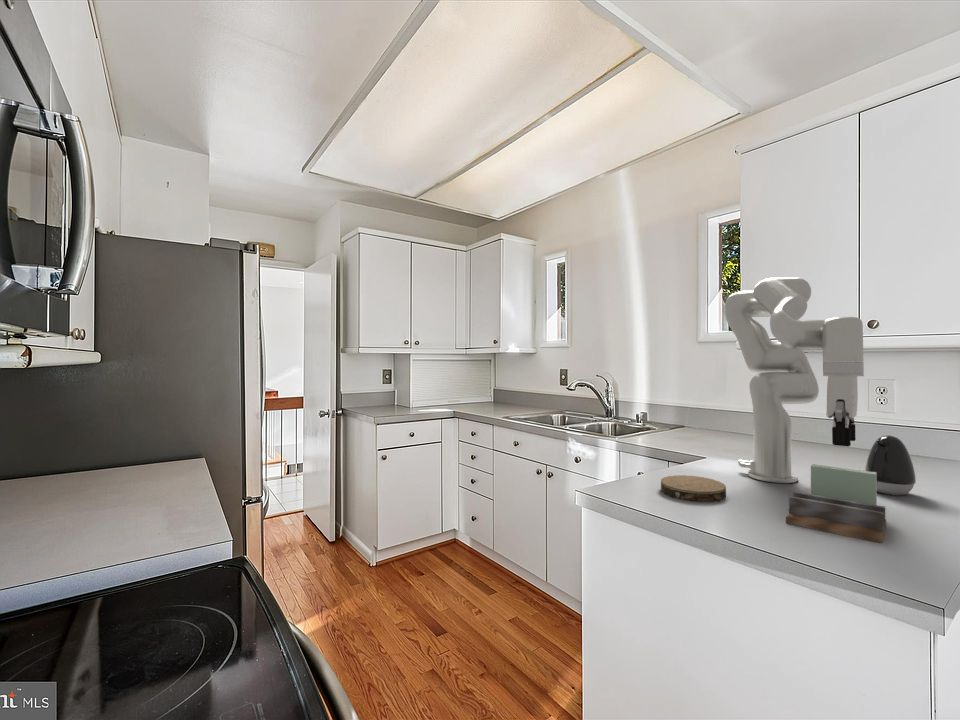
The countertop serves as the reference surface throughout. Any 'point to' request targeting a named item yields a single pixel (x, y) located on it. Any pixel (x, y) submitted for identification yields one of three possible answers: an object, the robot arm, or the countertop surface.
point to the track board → (837, 516)
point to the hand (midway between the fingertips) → (844, 442)
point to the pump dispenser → (891, 466)
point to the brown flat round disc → (693, 488)
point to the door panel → (844, 484)
